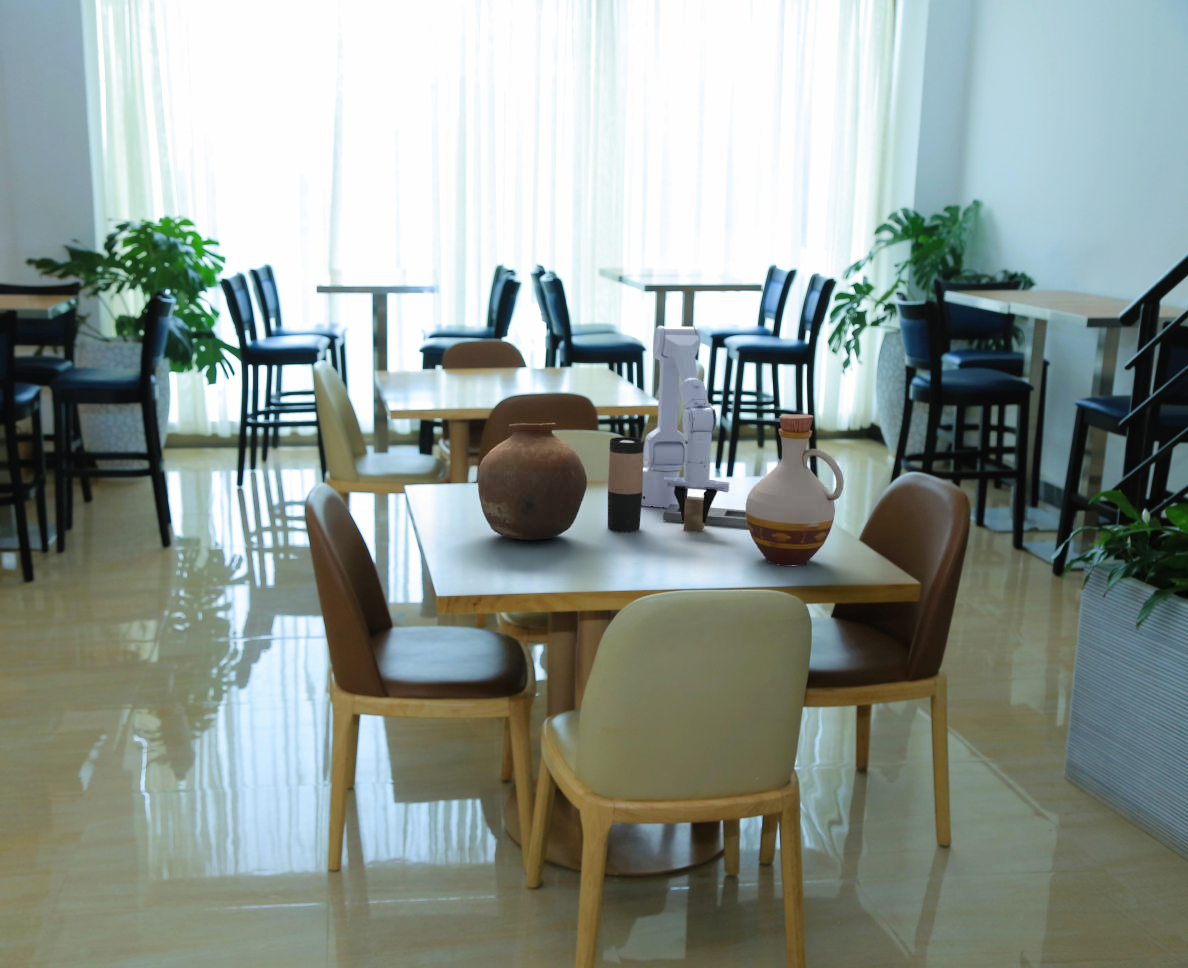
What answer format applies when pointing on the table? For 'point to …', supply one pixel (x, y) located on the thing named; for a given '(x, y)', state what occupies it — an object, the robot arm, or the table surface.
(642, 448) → the travel mug
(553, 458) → the pottery
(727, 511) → the grey slotted board
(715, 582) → the table surface
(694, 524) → the walnut peg
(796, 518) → the jug
